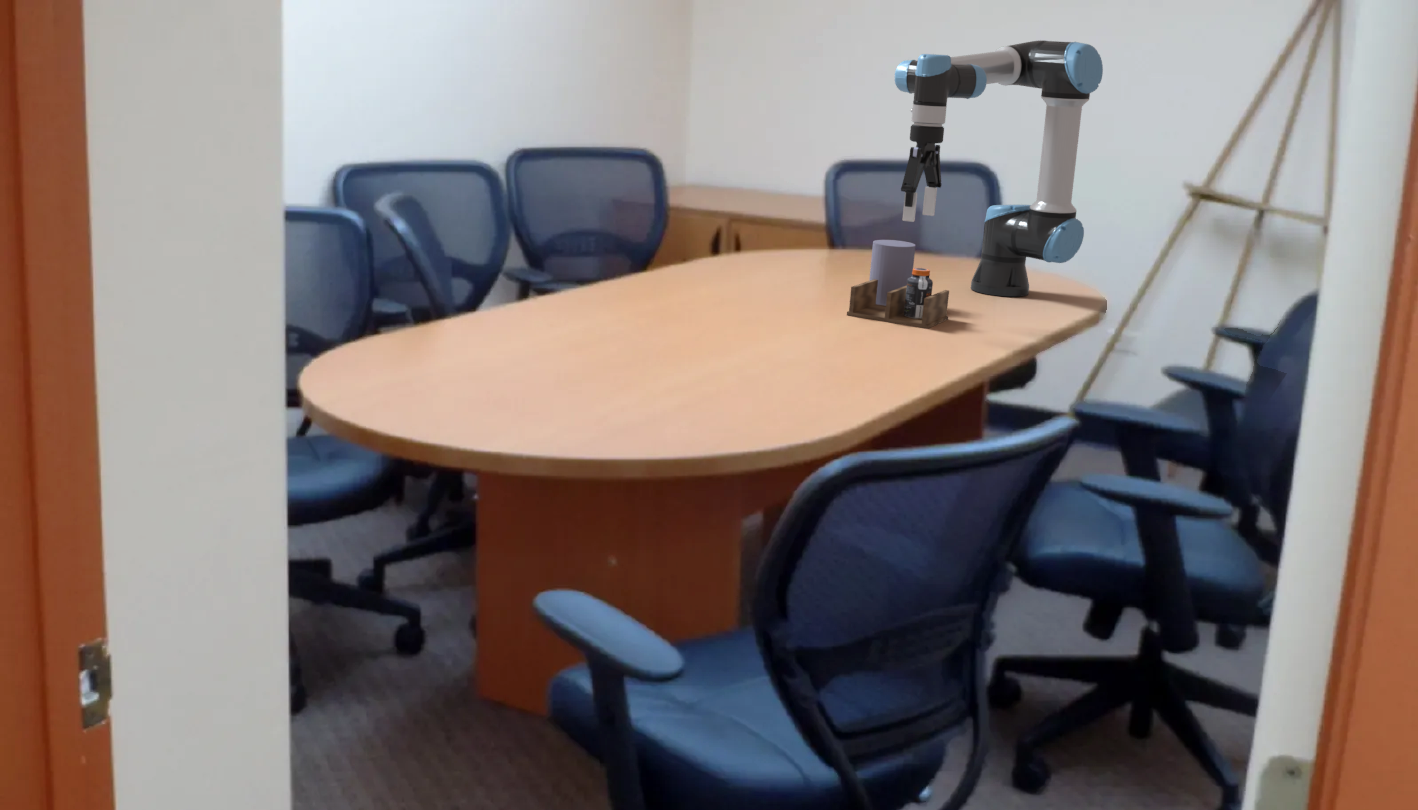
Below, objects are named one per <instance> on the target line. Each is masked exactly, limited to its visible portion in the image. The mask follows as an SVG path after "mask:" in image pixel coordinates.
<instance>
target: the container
mask: <svg viewBox="0 0 1418 810" xmlns="http://www.w3.org/2000/svg"><path fill="white" fill-rule="evenodd" d="M915 253H916V244H915V243H914V242H908V241H904V240H897V239H896V240H895V239H876V240H873V242H872V249H871V261H870V269H869V280H868V281H870V280H873V279H877V280H878V287H877V297H876V304H878V305H884V306H886V300H887V292H890V291H893V290H896V289H898V288H901V287H904V286H907V280H908V278H910V277H912V276H913V275H912V271H913V268H914V265H915V263H914V262H915Z"/></svg>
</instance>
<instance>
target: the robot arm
mask: <svg viewBox="0 0 1418 810" xmlns="http://www.w3.org/2000/svg"><path fill="white" fill-rule="evenodd" d="M1103 71H1104V68H1103V61H1102V57H1101V55H1100V54H1099V52H1098V50H1097V49H1096V48H1095V47H1094V46H1093V45H1091V44H1089V43H1085V42H1084V43H1083V42H1077V41H1058V40H1057V41H1056V40H1055V41H1052V40H1032V41H1026V42H1021V43H1016V44H1015V43H1014V44H1010V45H1005V46H1001V47H999V48H997V49H996V50H995V51H990V52H982V53H974V54H972V53H971V54H967V55H958V56H950V55H948V54H947V55H946V54H934V53H921V54H920V55H919V56H918V57H917V60H916V59H911V60H909V59H907V60H906V59H905V60H903V61H901V62H900V63H899V64H898V65H897V67H896V69H895V71H894V84H895V86H896V88H897V89H898V90H899V91H900V92H904V93H909V94H913V101H912V102H913V103H912V107H911V108H910V112H911V122H912V123H913V124H911V126H910V133H909V140H910V142H914V143H916V146H910V149H909V156H908V161H907V164H906V168H905V173H904V176H903V180H902V185H901V188H900V191H901V192H904V196H903V197H904V198H903V209H902V210H903V211H902V222H903V221H904V222H910V223H914V222H915V221H916V211H917V200H918V192H916V191H917V189H918V186H919V184H920V181H921V178H922V175H923V173H924V178H925V182H926V186H925V187H924V193H923V195H924V196H923V205H922V216H929V217H930V216H931V217H934V216H935V213H936V212H935V211H936V205H937V204H936V203H937V195H938V188H940V189H941V188H942V173H941V171H942V170H941V157H940V154H941V143H943V142H944V134H945V127H944V126H943V125H945V124H946V117H947V106H948V105H947V104H948V99H949V98H952V99H967V100H970V99H974V98H978V97H979V96H981V95H982V94H983V93H984V91H985V90H986V87H987V85H990V84H999V85H1001V86H1005V87H1006V86H1021V87H1029V88H1034V89H1041V95H1040V97H1041V99H1042V100H1043V102H1044V103H1045V104H1046V105H1045V106H1046V107H1045V108H1046V109H1045V117H1044V127H1043V136H1042V144H1041V154H1040V155H1041V156H1040V162H1039V163H1040V164H1039V165H1040V166H1039V175H1038V183H1037V192H1036V199H1035V201H1034V202H1033V203H1032V204H996V205H995V204H994V205H991V206H989V207H988V208H987V210H986V213H985V215H986V216H985V219H984V223H983V224H984V226H983V236H982V244H981V245H982V246H981V255H980V261H979V263H978V265H977V267H976V270H975V272H974V275H973V277H972V278H971V283H970V290H972V291H974V292H977V293H981V294H985V295H988V296H989V295H990V296H999V297H1025V296H1028V295H1029V292H1030V282H1029V277H1028V272H1027V268H1026V262H1027V258H1029V259H1030V258H1031V259H1035V260H1040V261H1044V262H1047V263H1056V264H1064V263H1066V262H1069V261H1070V260H1071V259H1072V258H1074V256H1075V255H1076V254H1077V253H1078V252H1079V250H1080V248H1081V246H1082V244H1083V242H1084V241H1083V240H1084V237H1085V228H1084V226H1083V223H1082V222H1081V221H1080V220H1079V219H1078V218H1077V208H1076V207H1075V206H1074V205H1073V204H1072V198H1073V189H1074V182H1075V180H1074V179H1075V172H1076V162H1077V154H1078V144H1079V137H1080V129H1081V128H1080V126H1081V117H1082V111H1083V109H1082V108H1083V107H1084V105H1085V104H1086V103H1087V102H1088V101H1089V100H1090V97H1091V95H1090V94H1092V93H1093V92H1095V91H1096V90H1097V89H1098V88H1099V84H1100V83H1102V79H1103V74H1104V73H1103Z"/></svg>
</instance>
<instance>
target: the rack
mask: <svg viewBox="0 0 1418 810" xmlns="http://www.w3.org/2000/svg"><path fill="white" fill-rule="evenodd" d="M877 287H878V280H877V279H873V280H870V281H869V280H868V281H865V282H861V283H859V284H856V285H852V286H850V294H849V295H850V296H849V307H848V308H849V309H848V311H846V316H850V317H856V318H862V319H868V320H874V321H879V322H886V323H891V324H897V325H898V324H899V325H903V326H910V327H916V328H922V329H931V328H932V327H934V326H937V325H938V324H941V323H943V322H946V321H947V320H949V315H947V313H948V306H949V304H948V303H949V295H950V290H947V289H943V290H941V291H939V292H937V293H934V294H932V295H931V296H929V297H926V298H924V305H923V315H922V319H914V318H909V317H906V316H905V315H904V306H905V297H906V288H907V286H904V287H901V288H898V289H896V290H893V291H890V292H887V300H886V306H884V305H878V304H876V297H877Z"/></svg>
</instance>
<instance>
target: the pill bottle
mask: <svg viewBox="0 0 1418 810" xmlns="http://www.w3.org/2000/svg"><path fill="white" fill-rule="evenodd" d="M930 273H931V270H930V269H928V268H922V267H913V271H912V277H910V278H908V280H907V288H906V297H905V306H904V315H905V316H906V317H909V318H914V319H922V315H923V305H924V298H926V297H929V296H931V295H933V294H932V293H933V286H934V281H933V279H931V278H930V275H931V274H930Z"/></svg>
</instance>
